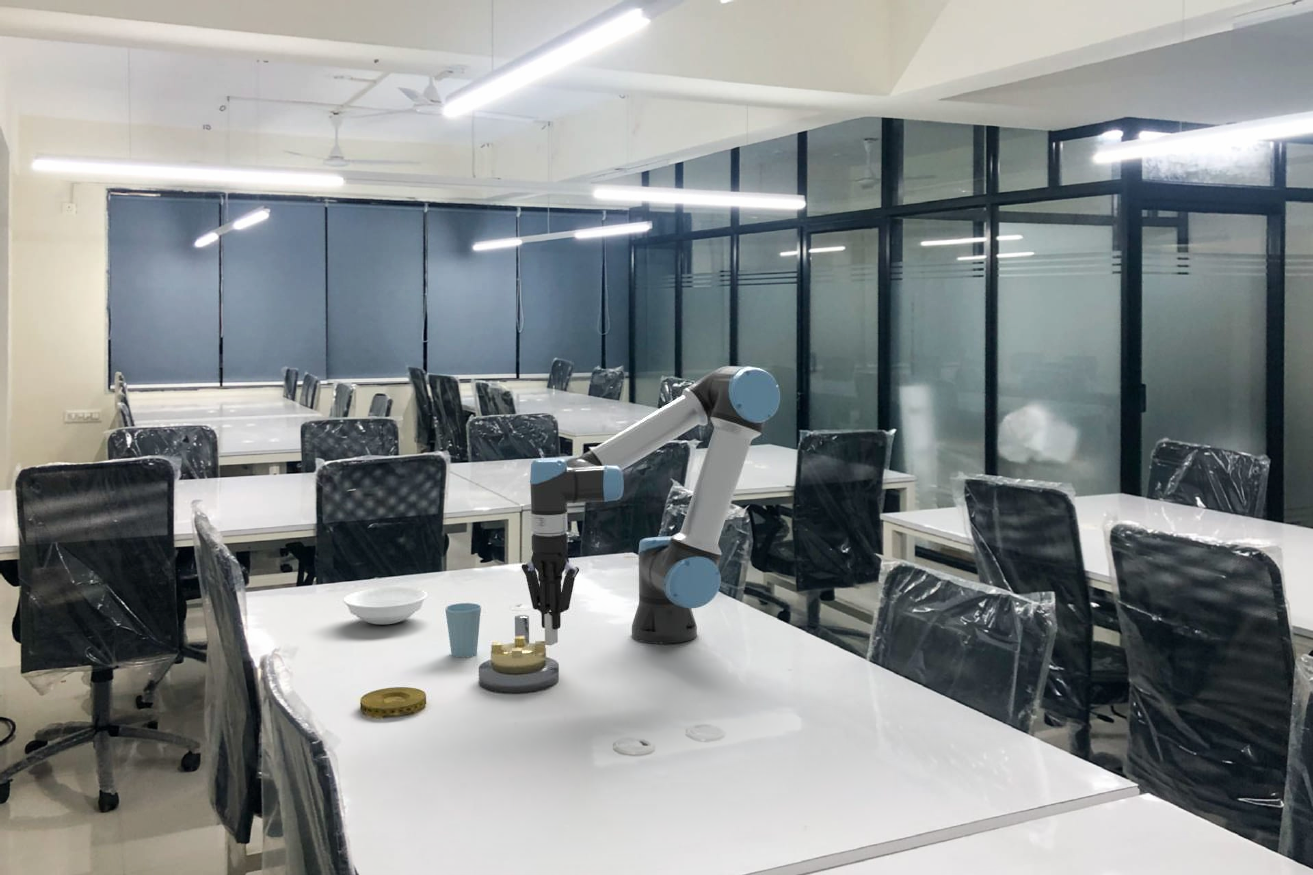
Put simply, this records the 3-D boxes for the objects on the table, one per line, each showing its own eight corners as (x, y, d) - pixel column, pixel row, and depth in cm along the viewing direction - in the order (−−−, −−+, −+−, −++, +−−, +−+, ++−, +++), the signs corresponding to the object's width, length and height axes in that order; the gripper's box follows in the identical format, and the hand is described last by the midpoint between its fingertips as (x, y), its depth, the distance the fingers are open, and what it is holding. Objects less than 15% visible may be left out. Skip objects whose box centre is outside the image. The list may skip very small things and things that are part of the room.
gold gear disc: (356, 703, 206) (356, 691, 205) (419, 694, 210) (419, 683, 210) (365, 723, 195) (365, 711, 194) (432, 714, 199) (431, 702, 199)
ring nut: (545, 684, 212) (544, 639, 211) (489, 685, 211) (488, 640, 211) (548, 655, 231) (548, 614, 230) (497, 656, 230) (496, 615, 229)
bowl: (390, 608, 277) (390, 583, 276) (444, 619, 265) (444, 594, 264) (326, 624, 261) (325, 598, 260) (380, 637, 249) (380, 610, 248)
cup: (486, 656, 234) (485, 609, 233) (451, 660, 231) (449, 613, 230) (477, 647, 241) (476, 601, 240) (443, 651, 238) (441, 605, 237)
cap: (551, 665, 227) (551, 650, 227) (565, 689, 212) (565, 672, 211) (475, 672, 223) (474, 656, 223) (483, 697, 208) (482, 679, 207)
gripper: (513, 533, 224) (515, 644, 226) (567, 538, 218) (569, 651, 221) (532, 527, 231) (534, 635, 233) (585, 532, 225) (587, 642, 227)
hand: (551, 643), depth 227 cm, fingers closed
